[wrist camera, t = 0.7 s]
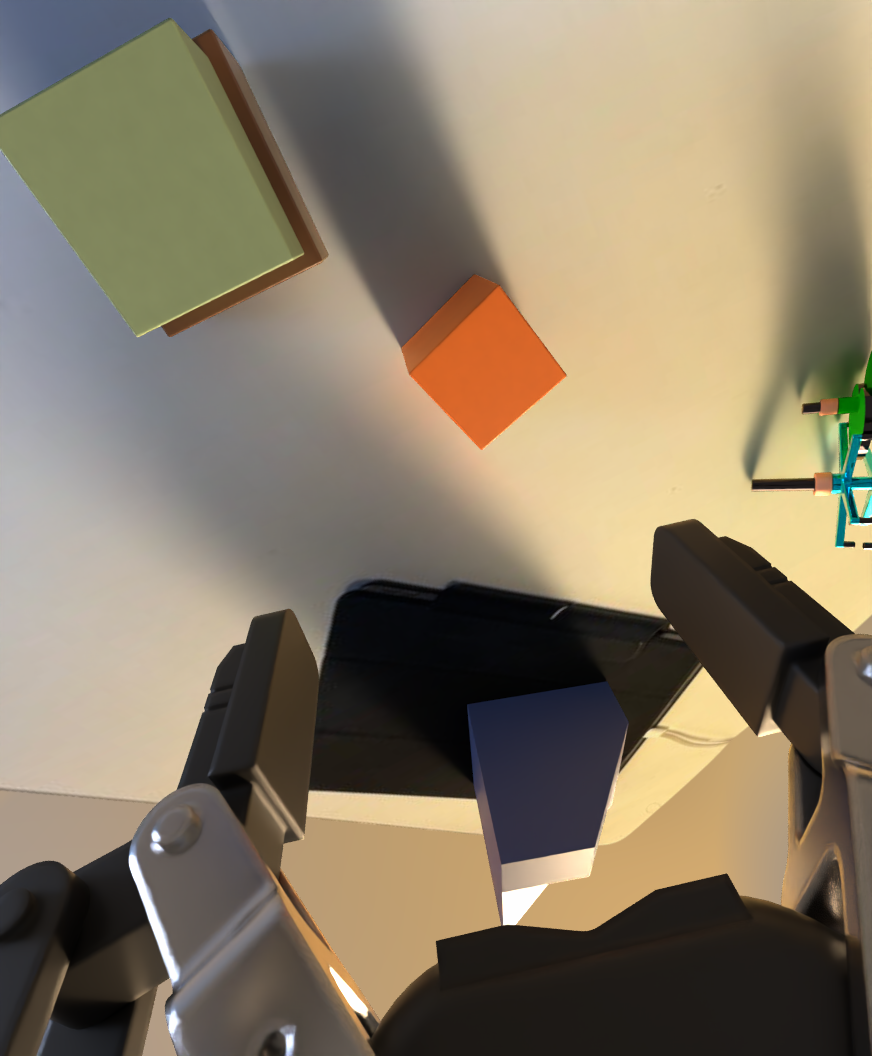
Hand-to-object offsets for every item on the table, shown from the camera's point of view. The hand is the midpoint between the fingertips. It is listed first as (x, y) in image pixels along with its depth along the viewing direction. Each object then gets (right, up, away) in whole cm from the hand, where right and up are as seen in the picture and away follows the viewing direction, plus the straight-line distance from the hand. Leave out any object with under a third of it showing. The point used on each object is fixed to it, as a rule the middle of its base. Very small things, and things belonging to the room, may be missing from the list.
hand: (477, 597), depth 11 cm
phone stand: (+8, -17, +33) cm, 38 cm away
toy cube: (+1, +11, +15) cm, 18 cm away
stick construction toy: (+23, +7, +20) cm, 31 cm away
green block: (-10, +13, +7) cm, 18 cm away
